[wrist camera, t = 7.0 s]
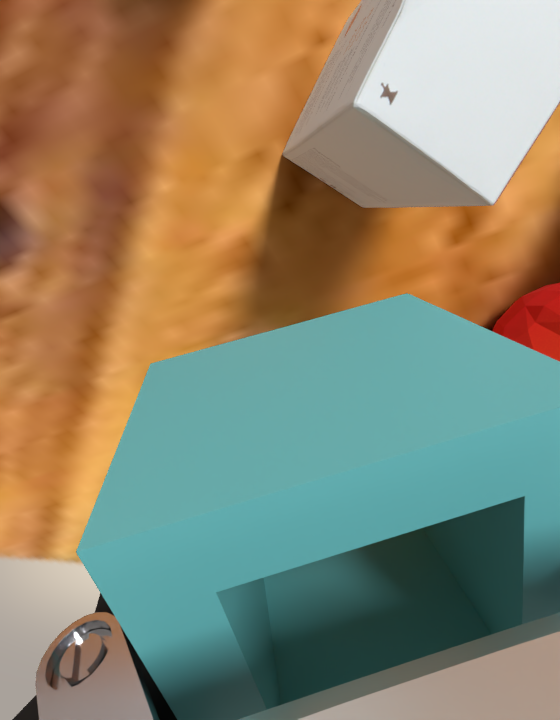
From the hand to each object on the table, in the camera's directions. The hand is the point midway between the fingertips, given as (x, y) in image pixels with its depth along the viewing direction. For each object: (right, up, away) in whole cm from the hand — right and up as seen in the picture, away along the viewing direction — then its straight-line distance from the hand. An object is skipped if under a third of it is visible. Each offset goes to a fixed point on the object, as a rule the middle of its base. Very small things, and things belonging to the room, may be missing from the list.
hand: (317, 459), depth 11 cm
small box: (+4, +17, +13) cm, 22 cm away
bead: (0, 0, +1) cm, 1 cm away
